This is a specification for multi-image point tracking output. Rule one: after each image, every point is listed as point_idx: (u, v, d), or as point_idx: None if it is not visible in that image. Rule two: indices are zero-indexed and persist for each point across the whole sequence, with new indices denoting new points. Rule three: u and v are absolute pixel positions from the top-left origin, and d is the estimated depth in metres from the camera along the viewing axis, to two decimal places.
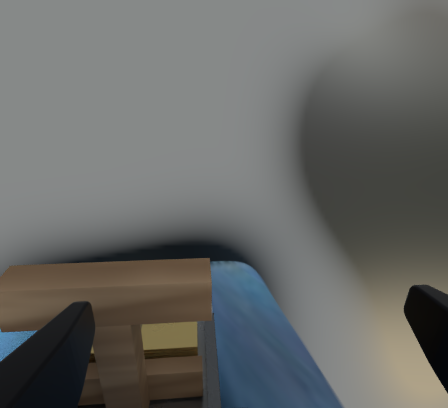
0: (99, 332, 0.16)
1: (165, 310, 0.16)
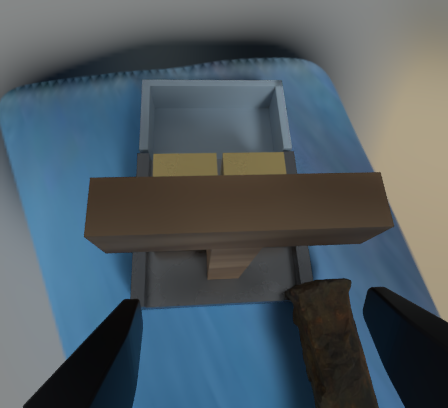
0: (223, 251, 0.13)
1: (312, 240, 0.12)
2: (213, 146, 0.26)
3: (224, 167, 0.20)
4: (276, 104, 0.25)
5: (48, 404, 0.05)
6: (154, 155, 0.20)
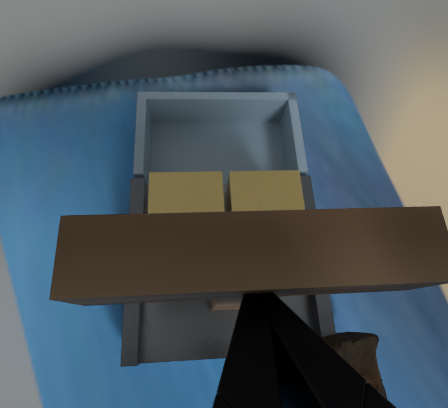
0: (234, 299, 0.10)
1: (349, 291, 0.09)
2: (217, 166, 0.23)
3: (231, 188, 0.17)
4: (289, 120, 0.22)
5: (242, 389, 0.05)
6: (150, 174, 0.17)
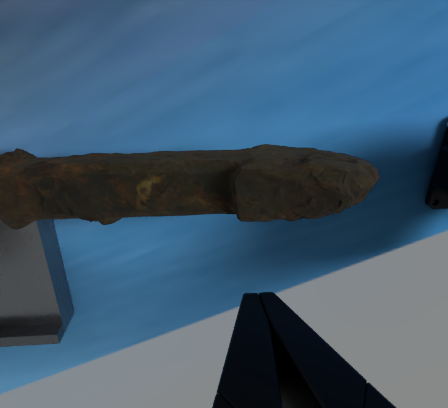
0: None
1: None
2: None
3: None
4: None
5: (242, 389, 0.05)
6: None
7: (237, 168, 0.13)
